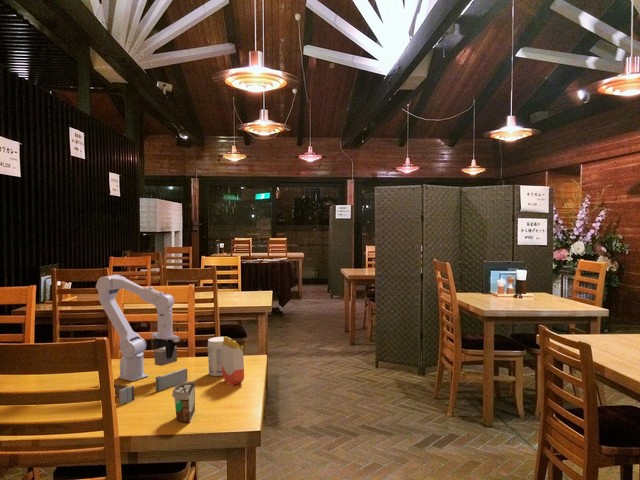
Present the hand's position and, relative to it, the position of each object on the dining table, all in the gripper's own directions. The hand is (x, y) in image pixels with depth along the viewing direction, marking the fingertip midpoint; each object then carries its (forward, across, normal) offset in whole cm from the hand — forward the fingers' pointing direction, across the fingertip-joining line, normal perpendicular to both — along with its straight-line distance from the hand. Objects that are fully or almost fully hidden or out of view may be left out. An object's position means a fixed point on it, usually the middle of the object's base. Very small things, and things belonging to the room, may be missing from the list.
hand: (165, 357), depth 195 cm
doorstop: (+2, 0, 0) cm, 2 cm away
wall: (+9, +9, -12) cm, 18 cm away
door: (+9, +4, -23) cm, 25 cm away
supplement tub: (+9, +14, +16) cm, 24 cm away
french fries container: (+9, +27, +10) cm, 30 cm away
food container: (+9, +37, -25) cm, 45 cm away
